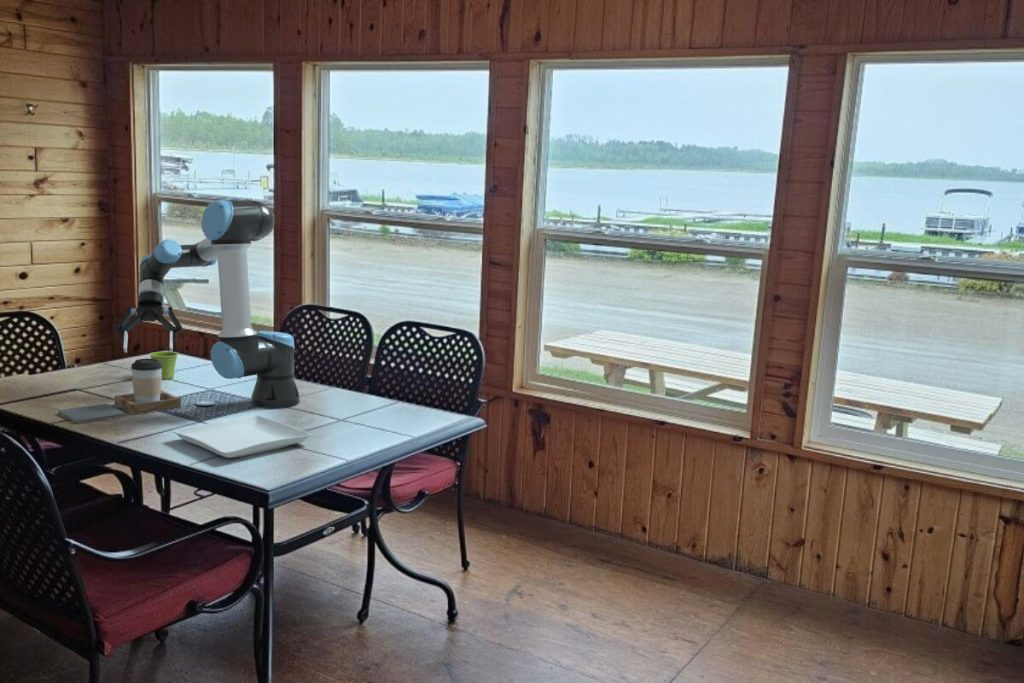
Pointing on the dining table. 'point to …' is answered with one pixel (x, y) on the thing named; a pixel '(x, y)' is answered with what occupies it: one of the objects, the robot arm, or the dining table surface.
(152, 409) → the brown wooden tray
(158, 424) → the dining table surface
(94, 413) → the rubber mat
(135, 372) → the coffee cup
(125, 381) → the dining table surface
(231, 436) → the square plate
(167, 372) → the plant pot
